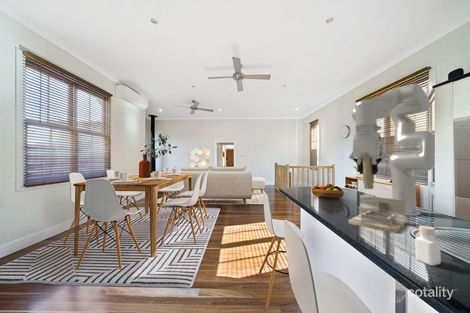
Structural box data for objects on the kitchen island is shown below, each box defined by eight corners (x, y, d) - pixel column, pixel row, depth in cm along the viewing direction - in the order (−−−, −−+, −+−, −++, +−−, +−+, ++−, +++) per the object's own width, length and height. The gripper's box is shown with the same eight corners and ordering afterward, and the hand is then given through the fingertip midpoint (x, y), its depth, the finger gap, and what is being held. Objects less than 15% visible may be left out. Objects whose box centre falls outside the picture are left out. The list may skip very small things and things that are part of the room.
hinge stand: (361, 216, 103) (360, 195, 103) (405, 224, 90) (404, 199, 90) (348, 223, 92) (347, 199, 92) (395, 233, 79) (394, 205, 80)
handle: (378, 189, 83) (376, 152, 84) (359, 189, 87) (358, 153, 87) (377, 188, 88) (375, 152, 88) (359, 187, 91) (358, 153, 91)
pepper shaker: (431, 266, 54) (430, 230, 55) (414, 260, 58) (413, 225, 59) (442, 264, 56) (440, 228, 56) (425, 257, 59) (423, 224, 60)
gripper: (392, 128, 83) (395, 173, 83) (348, 133, 96) (350, 172, 96) (387, 127, 79) (389, 175, 78) (341, 132, 91) (343, 174, 91)
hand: (368, 173), depth 87 cm, fingers closed on handle, 4 cm apart
